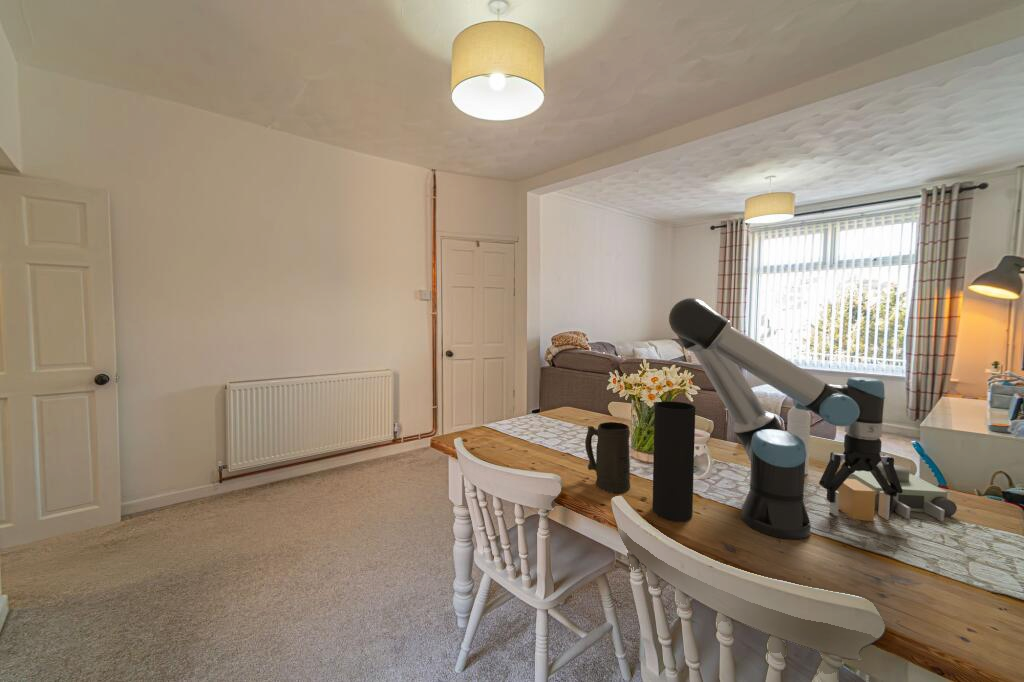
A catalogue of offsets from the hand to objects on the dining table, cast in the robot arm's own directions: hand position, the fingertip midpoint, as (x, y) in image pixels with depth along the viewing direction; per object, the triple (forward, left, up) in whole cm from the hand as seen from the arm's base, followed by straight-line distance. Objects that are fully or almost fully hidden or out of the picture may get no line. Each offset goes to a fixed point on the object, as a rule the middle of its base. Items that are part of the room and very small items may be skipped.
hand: (858, 515), depth 110 cm
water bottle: (0, +32, 0) cm, 32 cm away
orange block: (0, +2, 0) cm, 2 cm away
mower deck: (+16, +12, 0) cm, 20 cm away
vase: (-49, -6, 0) cm, 49 cm away
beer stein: (-66, +10, 0) cm, 67 cm away
